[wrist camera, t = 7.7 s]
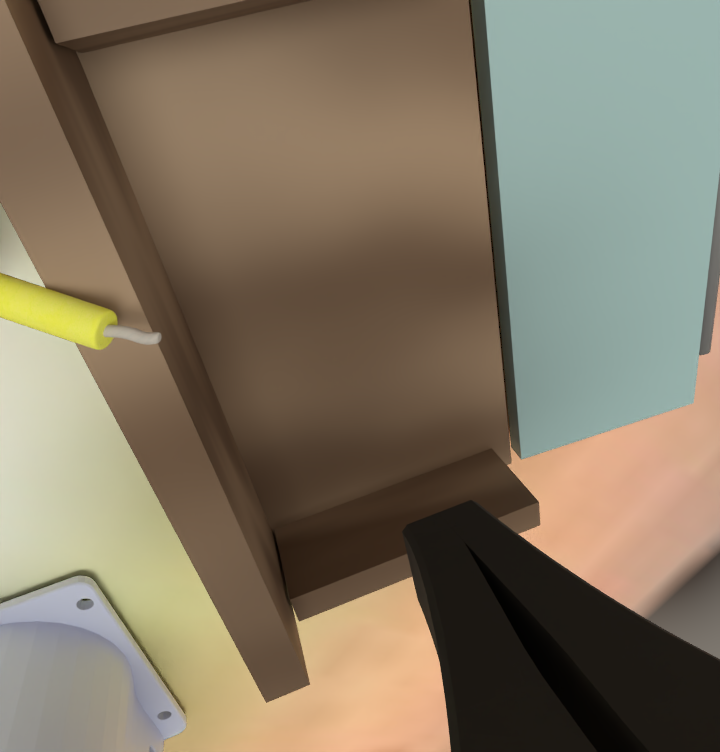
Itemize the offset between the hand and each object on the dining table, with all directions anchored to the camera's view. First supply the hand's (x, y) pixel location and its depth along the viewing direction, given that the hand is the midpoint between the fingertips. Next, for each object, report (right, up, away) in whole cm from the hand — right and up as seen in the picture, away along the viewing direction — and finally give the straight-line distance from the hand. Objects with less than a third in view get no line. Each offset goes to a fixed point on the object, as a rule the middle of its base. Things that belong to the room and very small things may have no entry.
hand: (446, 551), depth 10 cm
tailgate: (+3, +7, +6) cm, 10 cm away
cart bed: (-3, +6, +7) cm, 9 cm away
